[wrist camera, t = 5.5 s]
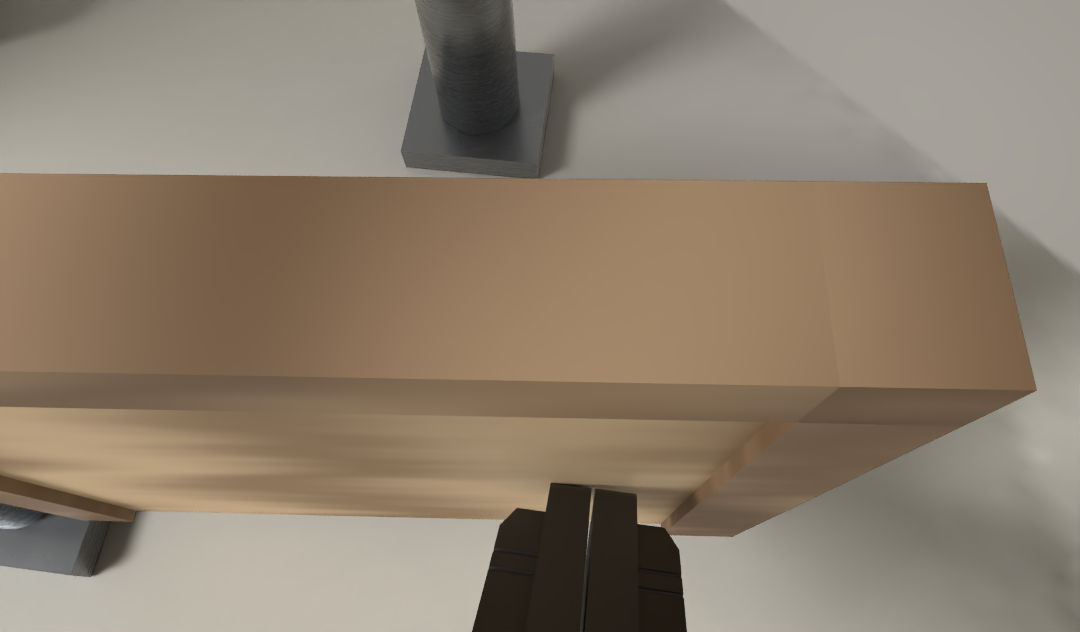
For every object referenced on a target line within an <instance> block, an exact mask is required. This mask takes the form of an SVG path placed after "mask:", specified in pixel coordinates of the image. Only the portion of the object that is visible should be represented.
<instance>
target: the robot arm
mask: <svg viewBox="0 0 1080 632" xmlns="http://www.w3.org/2000/svg"><path fill="white" fill-rule="evenodd" d="M591 490H592V488H588V487H580V486H573V485H565V484H558V483H551V484H550V489H549V495H548V501H547V506H546V512H544V511H537V510H530V509H523V508H516V509H515V510H514V511H513V512H512V513H511V514H510V515H509V516H508V517H507V518H506V519H505V520H504V521H503V523H502V524H501V525H500V527H499V531H498V534H497V538H496V542H495V546H494V552H493V554H492V557H491V561H490V565H489V570H488V573H487V577H486V580H485V584H484V588H483V592H482V596H481V600H480V603H479V607H478V611H477V615H476V619H475V623H474V626H473V630H472V632H687V629H686V618H685V607H684V598H683V586H682V578H681V565H680V554H679V549H678V548H677V546H676V544H675V543H674V541H673V540H672V538H671V537H670V535H669V534H668V532H667V531H666V529H665V528H662V527H655V526H647V525H640V524H637V494H634V493H626V492H619V491H611V490H604V489H596V488H595V492H594V499H593V507H592V515H591V523H590V530H589V538H588V527H589V514H590V502H591ZM587 539H588V546H587ZM586 551H587V554H586Z"/></svg>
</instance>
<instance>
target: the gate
mask: <svg viewBox="0 0 1080 632" xmlns="http://www.w3.org/2000/svg"><path fill="white" fill-rule="evenodd" d="M1035 391H1037V389H1036V385H1035V381H1034V377H1033V373H1032V369H1031V364H1030V360H1029V356H1028V352H1027V348H1026V344H1025V340H1024V336H1023V331H1022V327H1021V323H1020V319H1019V315H1018V311H1017V307H1016V303H1015V299H1014V294H1013V290H1012V286H1011V282H1010V278H1009V274H1008V270H1007V266H1006V261H1005V257H1004V253H1003V249H1002V245H1001V241H1000V237H999V233H998V228H997V224H996V220H995V216H994V212H993V208H992V204H991V200H990V196H989V191H988V187H987V184H986V183H922V182H822V181H721V180H620V179H519V178H418V177H317V176H216V175H116V174H15V173H0V503H2V504H7V505H12V506H17V507H21V508H26V509H31V510H36V511H40V512H45V513H50V514H55V515H59V516H64V517H69V518H74V519H78V520H87V521H127V522H133V520H134V516H135V512H136V511H172V512H213V513H253V514H294V515H335V516H376V517H416V518H457V519H498V520H505V519H506V518H507V517H508V516H509V515H510V514H511V513H512V512H513V511H514V510H515V509H516V508H523V509H530V510H537V511H544V512H546V506H547V501H548V495H549V489H550V484H551V483H558V484H565V485H573V486H580V487H588V488H592V490H591V502H590V514H589V522H591V515H592V507H593V499H594V492H595V488H596V489H604V490H611V491H619V492H626V493H634V494H637V523H661V527H662V528H665V529H666V531H667V532H668V534H669V535H686V536H726V537H733V536H735V535H737V534H739V533H741V532H743V531H745V530H747V529H749V528H752V527H754V526H756V525H758V524H760V523H762V522H764V521H766V520H768V519H770V518H772V517H774V516H777V515H779V514H781V513H783V512H785V511H787V510H789V509H791V508H793V507H795V506H797V505H799V504H801V503H804V502H806V501H808V500H810V499H812V498H814V497H816V496H818V495H820V494H822V493H824V492H826V491H829V490H831V489H833V488H835V487H837V486H839V485H841V484H843V483H845V482H847V481H849V480H851V479H854V478H856V477H858V476H860V475H862V474H864V473H866V472H868V471H870V470H872V469H874V468H876V467H878V466H881V465H883V464H885V463H887V462H889V461H891V460H893V459H895V458H897V457H899V456H901V455H903V454H906V453H908V452H910V451H912V450H914V449H916V448H918V447H920V446H922V445H924V444H926V443H928V442H931V441H933V440H935V439H937V438H939V437H941V436H943V435H945V434H947V433H949V432H951V431H953V430H956V429H958V428H960V427H962V426H964V425H966V424H968V423H970V422H972V421H974V420H976V419H978V418H980V417H983V416H985V415H987V414H989V413H991V412H993V411H995V410H997V409H999V408H1001V407H1003V406H1005V405H1008V404H1010V403H1012V402H1014V401H1016V400H1018V399H1020V398H1022V397H1024V396H1026V395H1028V394H1030V393H1033V392H1035Z"/></svg>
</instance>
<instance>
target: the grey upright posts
mask: <svg viewBox="0 0 1080 632" xmlns="http://www.w3.org/2000/svg"><path fill="white" fill-rule="evenodd" d="M415 3H416V7H417V11H418V16H419V20H420V24H421V29H422V33H423V37H424V42H425V46H426V47H425V51H424V55H423V60H422V64H421V68H420V72H419V77H418V81H417V85H416V89H415V94H414V98H413V102H412V106H411V111H410V115H409V119H408V123H407V128H406V132H405V136H404V140H403V145H402V149H401V153H402V156H403V159H404V162H405V165H406V167H413V168H424V169H435V170H445V171H456V172H466V173H477V174H488V175H498V176H509V177H520V178H530V179H538V177H539V171H540V164H541V157H542V150H543V144H544V137H545V130H546V123H547V117H548V110H549V103H550V96H551V90H552V83H553V76H554V55H552V54H540V53H528V52H516V44H515V31H514V17H513V4H512V0H415ZM109 522H110V521H87V520H78V519H74V518H69V517H64V516H59V515H55V514H50V513H45V512H40V511H36V510H31V509H26V508H21V507H17V506H12V505H7V504H2V503H0V566H8V567H15V568H22V569H30V570H37V571H44V572H51V573H59V574H66V575H74V576H85V577H91V575H92V572H93V569H94V566H95V564H96V561H97V558H98V555H99V552H100V549H101V546H102V543H103V540H104V537H105V534H106V531H107V528H108V525H109Z"/></svg>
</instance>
